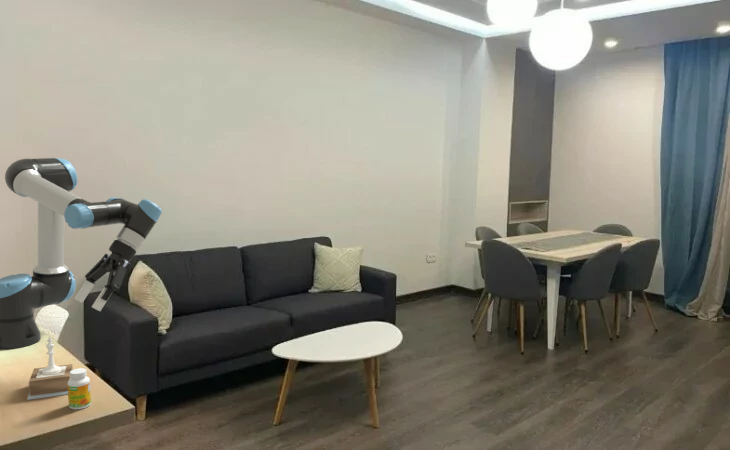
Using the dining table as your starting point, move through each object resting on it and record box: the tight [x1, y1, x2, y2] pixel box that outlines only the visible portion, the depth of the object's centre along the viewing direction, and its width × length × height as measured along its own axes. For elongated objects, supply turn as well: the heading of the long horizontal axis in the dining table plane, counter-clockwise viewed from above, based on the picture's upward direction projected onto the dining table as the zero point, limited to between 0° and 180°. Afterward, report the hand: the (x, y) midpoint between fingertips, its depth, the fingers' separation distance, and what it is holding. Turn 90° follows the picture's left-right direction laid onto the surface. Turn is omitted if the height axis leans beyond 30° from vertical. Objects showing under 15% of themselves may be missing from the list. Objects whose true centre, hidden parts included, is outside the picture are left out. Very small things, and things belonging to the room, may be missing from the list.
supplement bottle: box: [67, 367, 92, 410], centre depth 156 cm, size 5×5×10 cm
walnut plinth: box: [28, 363, 74, 396], centre depth 167 cm, size 10×10×5 cm
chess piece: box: [42, 337, 61, 375], centre depth 166 cm, size 5×5×10 cm
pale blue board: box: [27, 368, 75, 401], centre depth 170 cm, size 18×11×1 cm, turn 23°
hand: (86, 305), depth 176 cm, fingers open, 13 cm apart
